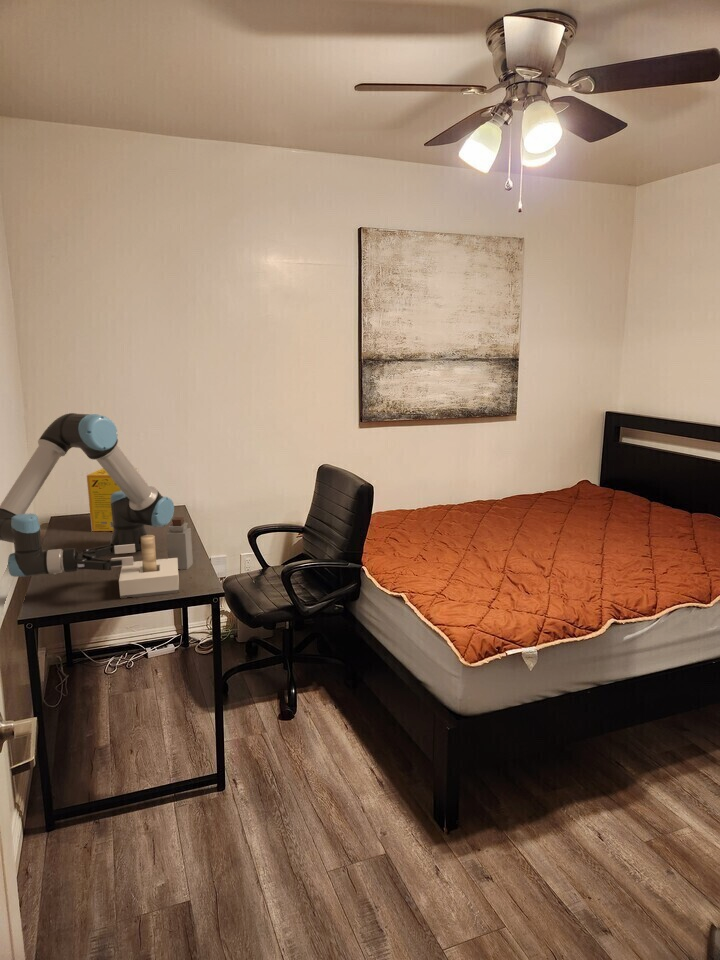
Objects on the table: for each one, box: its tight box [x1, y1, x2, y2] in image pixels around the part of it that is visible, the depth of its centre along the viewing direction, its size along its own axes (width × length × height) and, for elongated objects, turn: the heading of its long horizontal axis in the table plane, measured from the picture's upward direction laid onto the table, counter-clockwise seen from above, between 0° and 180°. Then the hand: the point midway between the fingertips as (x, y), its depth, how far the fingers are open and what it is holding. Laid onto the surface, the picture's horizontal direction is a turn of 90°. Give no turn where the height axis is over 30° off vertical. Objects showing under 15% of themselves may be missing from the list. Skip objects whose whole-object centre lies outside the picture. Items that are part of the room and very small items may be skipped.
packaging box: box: [85, 467, 140, 532], centre depth 280 cm, size 16×16×25 cm
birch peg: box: [140, 534, 157, 573], centre depth 211 cm, size 4×4×16 cm
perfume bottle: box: [165, 516, 194, 571], centre depth 230 cm, size 7×7×18 cm
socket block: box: [118, 558, 180, 599], centre depth 212 cm, size 18×18×6 cm
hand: (134, 554), depth 209 cm, fingers open, 13 cm apart
